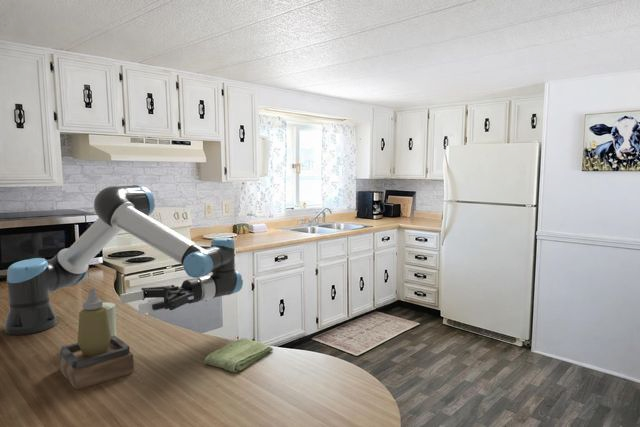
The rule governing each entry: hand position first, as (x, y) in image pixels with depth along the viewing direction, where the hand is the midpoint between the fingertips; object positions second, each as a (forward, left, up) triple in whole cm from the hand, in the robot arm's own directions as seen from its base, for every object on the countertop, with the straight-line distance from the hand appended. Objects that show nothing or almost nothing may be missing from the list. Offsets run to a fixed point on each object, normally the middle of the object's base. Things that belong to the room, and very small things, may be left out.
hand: (129, 304), depth 121 cm
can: (-21, -2, -17) cm, 27 cm away
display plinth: (0, -10, -17) cm, 19 cm away
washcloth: (+20, +23, -17) cm, 35 cm away
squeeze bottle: (0, -10, -12) cm, 15 cm away
